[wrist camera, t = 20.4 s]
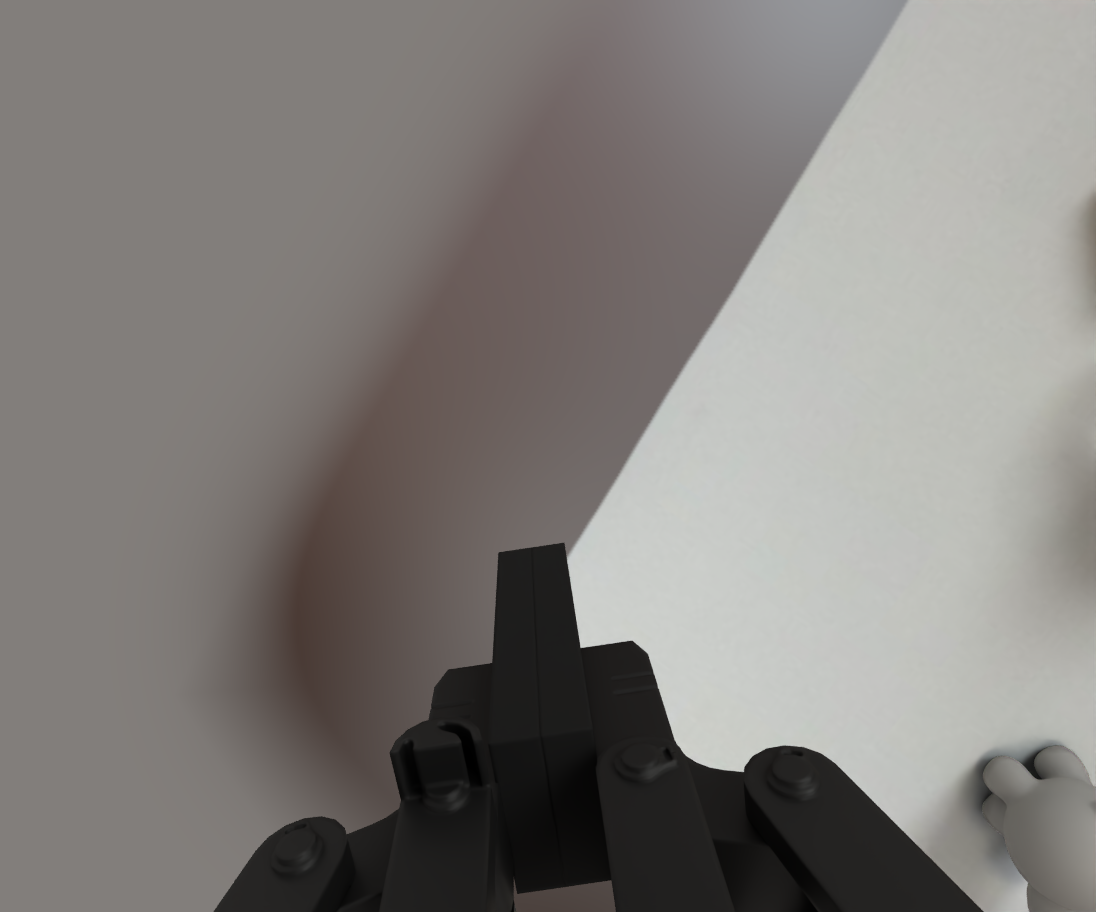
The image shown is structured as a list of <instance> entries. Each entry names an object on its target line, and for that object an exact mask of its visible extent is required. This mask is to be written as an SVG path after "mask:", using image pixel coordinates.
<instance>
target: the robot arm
mask: <svg viewBox="0 0 1096 912" xmlns="http://www.w3.org/2000/svg"><path fill="white" fill-rule="evenodd" d="M431 708H432V709H431V711H430V715H429V720H428V721H424V722H421V723H420V724H418V725H416V726H414V727H412V728H410V729H408V730H407V731H406V732H405V733H404V734H403V735H401V737H399V738H398V739H397V740H396V741H395V743H394V745H393V747H392V750H391V751H390V757H391V761H392V765H393V769H394V773H395V777H396V782H397V785H398V789H399V794H400V798H401V803H400V808H399V809H398V810H396V811H395V812H394V813H392V814H391V815H389V816H388V817H387V818H384V819H382V820H380V821H378V822H376V823H374V824H372V825H370V826H367V827H364V828H362V829H359V830H357V831H355V832H352V833H349V834H346V831H345V828H344V827H343V826H342V825H341V824H340V823H339V822H337V821H336V820H334V819H330V818H326V817H313V818H304V819H302V820H299V821H296V822H294V823H291V824H289V825H286V826H284V827H283V828H281V829H280V830H278V831H277V832H275V833H274V834H273V835H271V836H269V837H268V838H267V840H265V841H264V842H263V844H262V845H261V846H260V847H259V848H258V849H257V850H256V851H255V853H254V854H253V856H252V857H251V859H250V860H249V861H248V863H247V864H246V866H245V867H244V869H243V870H242V871H241V873H240V874H239V876H238V877H237V879H236V880H235V881H234V883H233V884H232V886H231V887H230V889H229V890H228V892H227V893H226V895H225V896H224V897H223V899H222V900H221V902H220V903H219V905H218V906H217V908H216V909H215V910H214V912H516V909H515V904H514V895H513V893H514V883H513V882H514V880H515V885H516V890H517V894H519V893H526V892H533V891H540V890H547V889H554V888H561V887H568V886H574V885H581V884H588V883H595V882H602V881H608V880H612V886H613V893H614V900H615V907H616V912H983V911H982V910H981V909H980V908H979V907H978V906H977V905H976V904H975V903H974V902H973V901H972V900H971V899H970V898H969V897H968V896H967V895H966V894H965V893H964V892H963V891H962V890H961V889H960V888H959V887H958V886H957V885H956V884H955V883H954V882H953V881H952V880H951V879H950V878H949V877H948V876H947V875H946V874H945V873H944V872H943V871H942V870H941V869H940V868H939V867H938V866H937V865H936V864H935V863H934V862H933V861H932V860H931V859H930V858H929V857H928V856H927V855H926V854H925V853H924V852H923V851H922V850H921V849H920V848H919V847H918V846H917V845H916V844H915V843H914V842H913V841H912V840H911V839H910V838H909V837H908V836H907V835H906V834H905V833H904V832H903V831H902V830H901V829H900V828H899V827H898V826H897V825H896V824H895V823H894V822H893V821H892V820H891V819H890V818H889V817H888V816H887V815H886V814H885V813H884V812H883V811H882V810H881V809H880V808H879V807H878V806H877V805H876V804H875V803H874V802H873V801H872V800H871V799H870V798H869V797H868V796H867V795H866V794H865V793H864V792H863V791H862V790H861V789H860V788H859V787H858V786H857V785H856V784H855V783H854V782H853V781H852V780H851V779H850V778H849V777H848V776H847V775H846V774H845V773H844V772H843V771H842V770H841V769H840V768H839V767H838V766H837V765H836V764H835V763H834V762H832V761H831V760H830V759H828V758H827V757H825V756H824V755H822V754H821V753H818V752H815V751H813V750H810V749H807V748H804V747H795V746H779V747H773V748H767V749H765V750H763V751H761V752H759V753H758V754H756V755H754V756H753V757H752V758H751V759H750V760H749V762H748V763H747V764H746V766H745V768H744V772H736V771H726V770H720V769H714V768H709V767H707V766H704V765H701V764H699V763H696V762H695V761H693V760H691V759H690V758H688V757H687V756H686V755H685V754H684V753H683V752H682V750H681V749H680V747H679V746H677V744H676V742H675V740H674V737H673V734H672V730H671V727H670V724H669V721H668V718H667V714H666V711H665V708H664V705H663V701H662V698H661V695H660V692H659V689H658V686H657V682H656V679H655V676H654V674H653V669H652V666H651V663H650V660H649V656H648V654H647V653H646V652H645V651H644V650H643V649H641V648H640V647H639V646H638V645H637V644H636V643H634V642H633V641H626V642H620V643H613V644H606V645H599V646H592V647H586V648H580V642H579V635H578V629H577V622H576V616H575V609H574V603H573V596H572V590H571V583H570V577H569V570H568V564H567V557H566V551H565V544H564V543H559V544H553V545H546V546H539V547H533V548H525V549H519V550H512V551H505V552H499V554H498V571H497V590H496V607H495V625H494V643H493V661H492V663H490V664H484V665H477V666H470V667H463V668H457V669H449V670H448V671H447V672H446V673H445V674H444V676H443V677H442V678H441V680H440V681H439V682H438V683H437V685H436V686H435V687H434V693H433V699H432V704H431Z"/></svg>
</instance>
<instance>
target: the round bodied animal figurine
mask: <svg viewBox="0 0 1096 912" xmlns="http://www.w3.org/2000/svg"><path fill="white" fill-rule="evenodd" d="M1034 765H1035V769H1036V771H1037V773H1038V774H1039V776H1040V777H1041V778H1042V779H1043V780H1037V779H1036V778H1034V777H1033V776H1032V775H1031V774H1030V773H1029V771H1028V770H1027V769H1026V768H1025V767H1024V766H1023V765H1022V764H1021V763H1020V762H1018V761H1017V760H1015V759H1013V758H1011V757H1007V756H998V757H995V758H993V759H992V760H991V761H990V762H989V763H988V764H987V766H986V767H985V769H984V772H983V780H984V782H985V784H986V786H987V787H988V788H989V789H990V790H991V791H992V792H993V794H991V795H990V796H989V797H988V798H987V799H986V800H985V801H984V803H983V806H982V812H983V815H984V817H985V819H986V820H987V822H988V823H989V824H990V825H991V826H992V827H993V828H994V829H995V830H996V831H997V832H998V833H1000V834H1001V835H1002V836H1004V839H1005V843H1006V847H1007V850H1008V852H1009V855H1010V857H1011V859H1012V861H1013V863H1014V865H1015V866H1016V868H1017V869H1018V871H1019V872H1020V874H1021V875H1022V876H1023V877H1024V879H1025V880H1026V881H1027V882H1028V886H1027V903H1028V909H1029V912H1096V787H1095V786H1093V785H1092V783H1091V780H1090V777H1089V775H1088V772H1087V770H1086V768H1085V766H1084V765H1083V763H1082V761H1081V760H1080V759H1079V758H1078V756H1077V755H1076V754H1075V753H1074V752H1072V751H1071V750H1070V749H1068V748H1066V747H1063V746H1058V745H1056V746H1051V747H1048V748H1046V749H1044V750H1042V751H1041V752H1040V753H1039V754H1038V755H1037V756H1036V757H1035V760H1034Z"/></svg>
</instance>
